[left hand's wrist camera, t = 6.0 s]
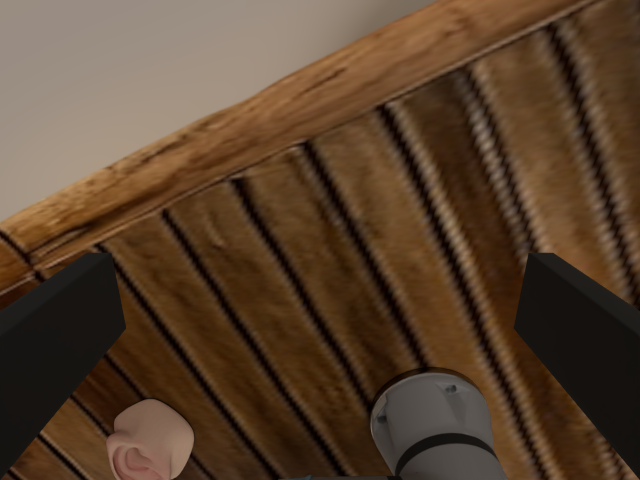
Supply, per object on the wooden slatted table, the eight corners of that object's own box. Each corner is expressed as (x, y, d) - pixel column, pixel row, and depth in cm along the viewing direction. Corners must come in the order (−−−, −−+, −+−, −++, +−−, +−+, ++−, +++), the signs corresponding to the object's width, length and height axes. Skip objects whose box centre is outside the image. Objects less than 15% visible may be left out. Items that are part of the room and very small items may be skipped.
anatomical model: (118, 411, 47) (205, 450, 49) (133, 387, 51) (213, 425, 53) (78, 479, 51) (160, 513, 53) (95, 453, 55) (171, 485, 57)
